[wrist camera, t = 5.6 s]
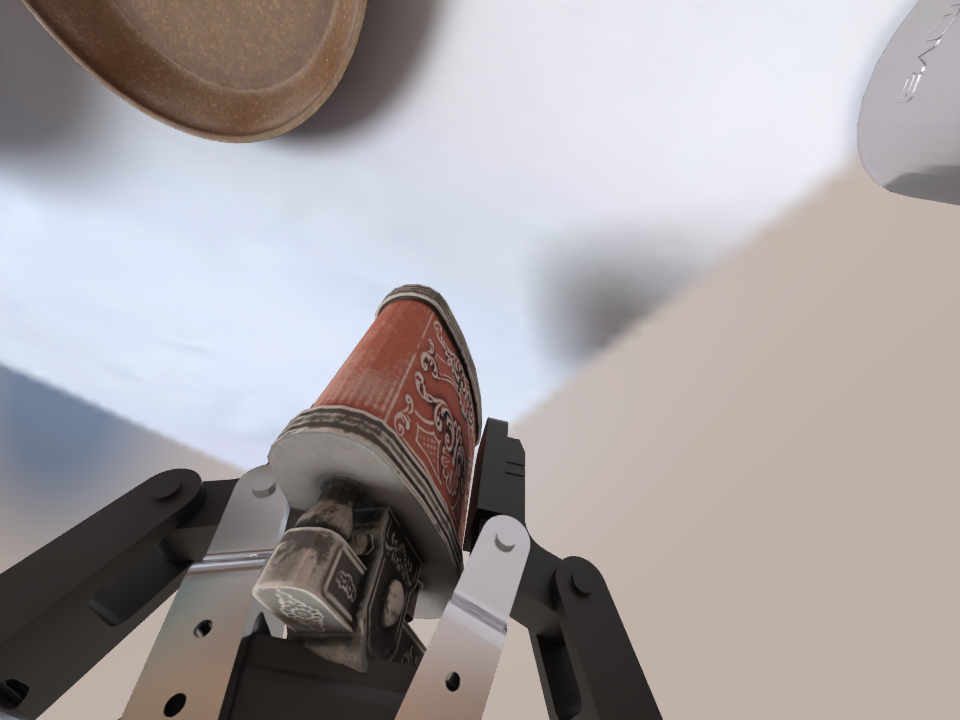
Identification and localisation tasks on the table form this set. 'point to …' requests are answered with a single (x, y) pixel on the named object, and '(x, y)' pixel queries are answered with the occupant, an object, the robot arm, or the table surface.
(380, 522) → the lighter
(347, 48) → the saucer
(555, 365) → the table surface
